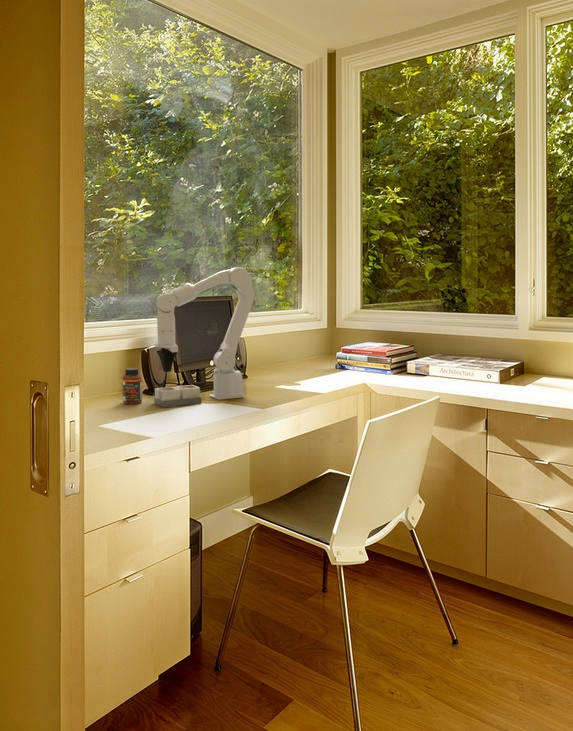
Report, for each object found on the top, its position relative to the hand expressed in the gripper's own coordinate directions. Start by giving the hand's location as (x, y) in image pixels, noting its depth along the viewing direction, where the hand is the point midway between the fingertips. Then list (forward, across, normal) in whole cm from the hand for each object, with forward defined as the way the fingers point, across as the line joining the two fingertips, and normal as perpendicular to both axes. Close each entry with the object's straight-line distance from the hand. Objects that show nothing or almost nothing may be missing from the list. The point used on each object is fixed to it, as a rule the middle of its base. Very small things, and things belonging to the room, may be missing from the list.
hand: (167, 371), depth 206 cm
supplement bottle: (+10, 0, -12) cm, 15 cm away
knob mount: (+9, +8, 0) cm, 12 cm away
